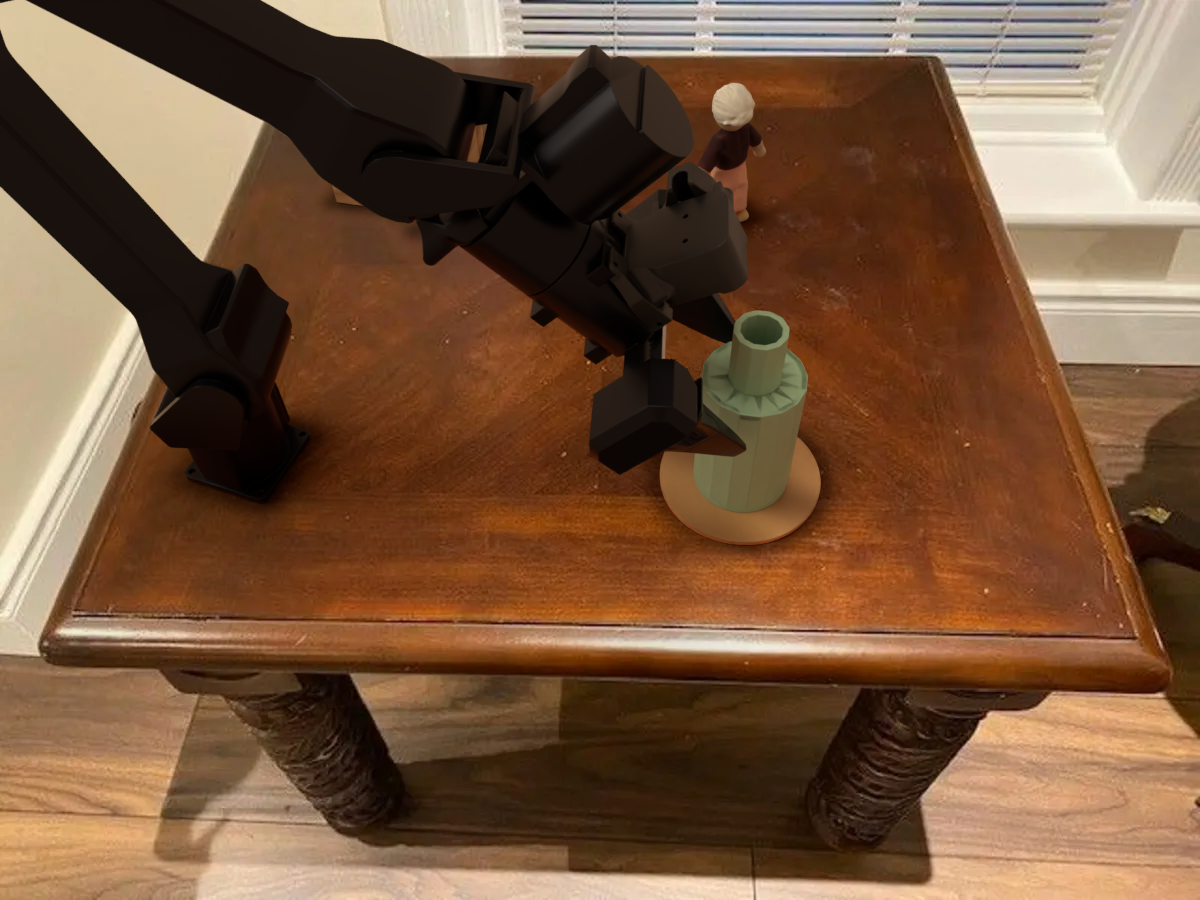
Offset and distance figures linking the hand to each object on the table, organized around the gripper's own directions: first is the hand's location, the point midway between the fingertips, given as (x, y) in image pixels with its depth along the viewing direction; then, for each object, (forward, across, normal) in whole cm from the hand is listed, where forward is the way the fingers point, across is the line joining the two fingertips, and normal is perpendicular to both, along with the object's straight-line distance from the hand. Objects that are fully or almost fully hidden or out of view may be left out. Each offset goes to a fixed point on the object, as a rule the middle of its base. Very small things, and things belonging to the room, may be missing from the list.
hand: (739, 393), depth 64 cm
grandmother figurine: (+6, +28, +6) cm, 29 cm away
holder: (-13, +33, +26) cm, 44 cm away
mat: (+7, 0, +6) cm, 9 cm away
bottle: (+6, 0, +5) cm, 8 cm away
